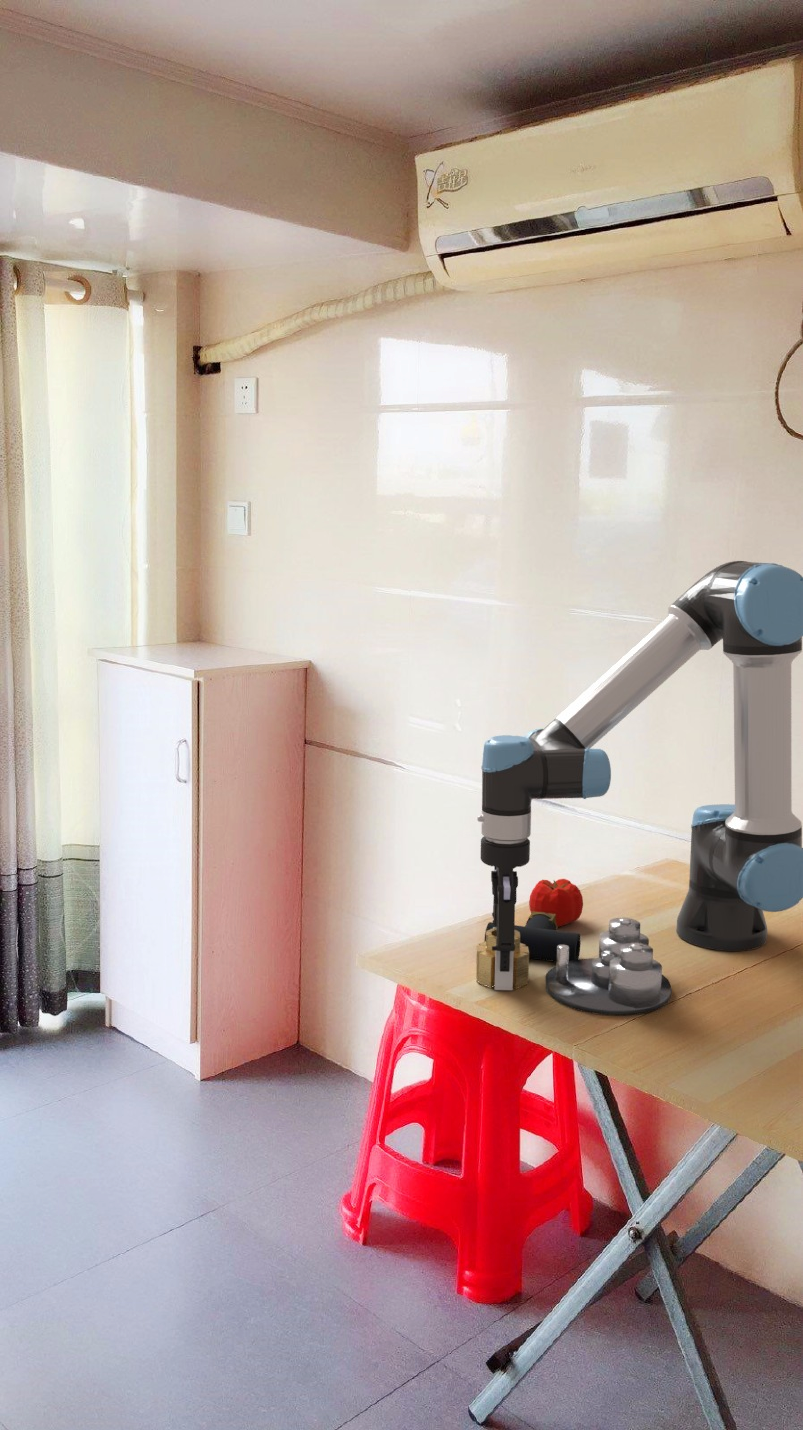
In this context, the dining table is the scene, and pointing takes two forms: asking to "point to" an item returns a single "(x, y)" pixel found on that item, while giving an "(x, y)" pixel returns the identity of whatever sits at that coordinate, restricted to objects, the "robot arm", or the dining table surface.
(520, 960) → the brass stepped collar
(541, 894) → the tomato
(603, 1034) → the dining table surface
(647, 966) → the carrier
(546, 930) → the pipe connector
